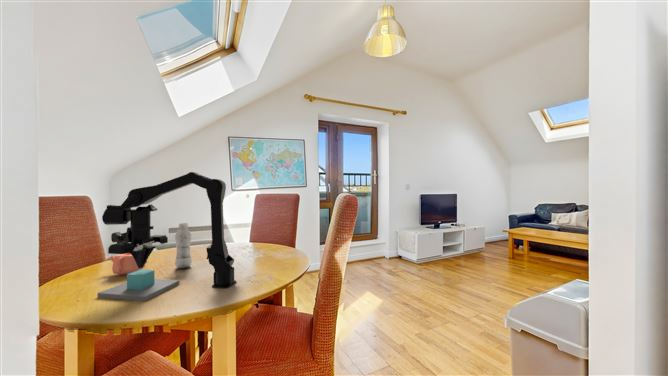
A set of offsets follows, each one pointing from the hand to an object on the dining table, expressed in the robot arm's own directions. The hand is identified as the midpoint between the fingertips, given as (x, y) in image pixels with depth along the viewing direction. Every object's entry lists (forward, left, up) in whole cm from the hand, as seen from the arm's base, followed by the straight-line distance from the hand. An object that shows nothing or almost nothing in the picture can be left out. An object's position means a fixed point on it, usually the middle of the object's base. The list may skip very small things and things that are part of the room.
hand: (140, 267), depth 94 cm
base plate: (0, 0, -8) cm, 8 cm away
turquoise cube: (0, 0, -6) cm, 7 cm away
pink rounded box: (+22, -16, -8) cm, 28 cm away
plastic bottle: (+4, -26, -8) cm, 28 cm away
